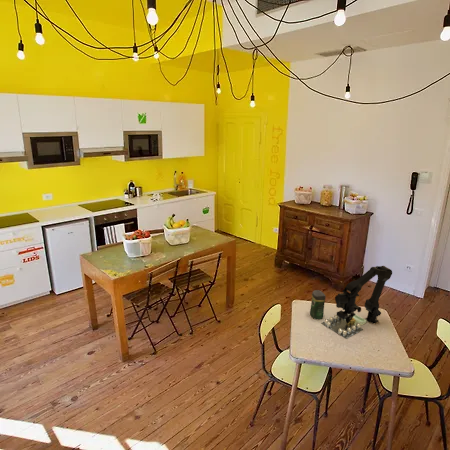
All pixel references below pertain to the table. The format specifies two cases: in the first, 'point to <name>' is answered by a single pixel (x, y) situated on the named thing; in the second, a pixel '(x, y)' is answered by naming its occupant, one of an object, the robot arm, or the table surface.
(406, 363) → the table surface
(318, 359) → the table surface
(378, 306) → the robot arm
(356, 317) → the tray
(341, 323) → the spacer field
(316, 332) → the table surface
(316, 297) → the coffee jar
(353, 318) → the gear
